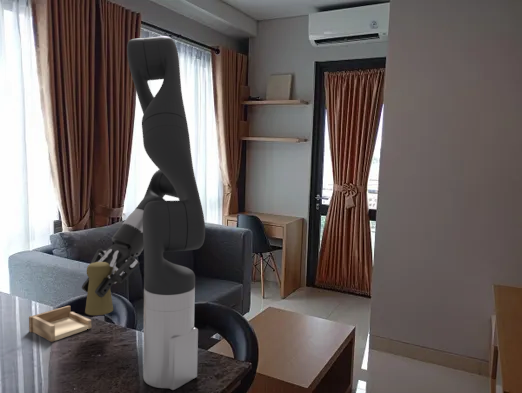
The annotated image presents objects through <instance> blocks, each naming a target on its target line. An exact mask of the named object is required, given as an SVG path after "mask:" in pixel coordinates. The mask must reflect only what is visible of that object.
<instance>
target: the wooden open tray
mask: <svg viewBox="0 0 522 393" xmlns="http://www.w3.org/2000/svg"><path fill="white" fill-rule="evenodd" d="M28 328H29V329H28V330H29V331H28V332H30V333H33V334H36V335H38V336H39V337H41V338H43V339H45V340H47V341H49V342H51V343H53V342H54V341H55V342H56V341H58V340H61V339H64V338H66V337H70V336H73V335H76V334H79V333H81V332H84V331H87V329H88V330H90V329H92V319H90V318H88V317H85V316H82V315H81V314H79V313H76V312H75V311H71V305H66V306H63V307H59V308H55V309H52V310H48V311H45V312H41V313H38V314H34V315H31V316H29V317H28Z"/></svg>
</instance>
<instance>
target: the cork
mask: <svg viewBox="0 0 522 393" xmlns="http://www.w3.org/2000/svg"><path fill="white" fill-rule="evenodd" d="M90 263H91V262H90ZM90 263H89V265H87V268H86V275H87V278H88V277H89V285H88V292H86V293H87V294H86V302H85V310H84V314H86V315H88V316H103V315H107V314H109V313H112V312H113V311H114V306H113V298H112V292H111V288H110V289H109V290H108V292H107V293H106V294H105V295H104V297H99V296H98V295H97V294H95V290H96V289H97V288H98V286H99V285H100V284H101V282H102V281H103V279H104V278H106V276H107V275H108V273H109V271H110V267H109V265H110V264H109V263H107V262H95V263H91V264H90ZM106 279H107V278H106Z"/></svg>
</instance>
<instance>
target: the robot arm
mask: <svg viewBox="0 0 522 393" xmlns="http://www.w3.org/2000/svg"><path fill="white" fill-rule="evenodd" d="M126 45H127V46H126V55H127V62H128V66H129V67H128V68H129V71H130V74H131V78H132V82H133V85H134V88H135V91H136V95H137V98H138V101H139V104H140V108H141V111H142V113H143V116H142V118H141V129H142V130H141V131H142V142H143V143H142V144H143V148H144V151H145V153H146V154H147V156H148V157H149V159H150V160H151V162H152V163H153V164H154V166H156V168H158V170H156V171H155V172H154V173H153V174H152V176H151V178H150V181H149V183H148V186H147V189H146V192H145V194H144V197H143V198H142V199H141V201H140V202H139V204H138V205H137V206H136V208H135V209H134V210H133V211H132V212H131V213H130V214H129V215H128V216H127V217H126V219H125V220H124V221H123V222H122V224H121V225H120V226H119V228H118V229H117V230H116V232H115V233H114V234H113V236H112V237H111V241H112V245H110V246H109V247H108V248H107V249H106V250H103V249H102V248H98V249H97V250H96V252H95V254H94V255H93V258H92V260H91V261H90V263H89V264H91V263H95V262H107V263H109V264H110V265H109V267H110V271H109V273H108V275H107V276H106V278H107V279H106V278H104V279H103V281H102V282H101V284H100V285H99V286H98V288H97V289H96V290H95V294H97V295H98V296H99V297H104V295H105V294H106V293H107V292H108V290H109V289H110V290H111V288H112V286H113V285H114V284H117V283H120V284H122V283H123V282H125V280H126V279H128V278H129V277H130V275H131V274H132V273H133V272H134V271H135V270H136V269H137V268H138V267H139V265H140V262H139V261H138V260H137V259H136V257H139V256H140V255H141V253H142V252H143V337H142V338H143V341H142V342H143V343H142V344H143V346H142V347H143V351H142V352H143V354H142V355H143V356H142V358H143V359H142V360H143V362H142V363H143V364H142V366H143V368H142V376H143V377H142V378H143V381H144V382H145V383H146V384H147V385H149V386H150V387H153V388H158V389H170V390H172V391H174V390H176V389H178V388H181V387H182V386H183V385H185V384H187V383H189V382H191V381H192V380H193V379H195V378H197V377H198V356H199V354H198V352H199V349H198V348H199V347H198V345H199V343H198V341H199V329H198V328H197V327H195V304H196V303H195V300H196V299H195V296H196V295H195V294H196V292H195V291H196V275H195V272H194V270H192V269H190V268H189V267H186V266H183V265H180V264H177V263H174V262H171V261H168V260H167V259H165V258H164V253H165V252H167V253H168V252H181V251H182V252H183V251H184V252H186V251H193V250H199V249H201V247H202V246H203V245H204V242H205V238H206V222H205V216H204V210H203V206H202V201H201V197H200V193H199V189H198V186H197V185H198V184H197V180H196V177H195V175H196V174H195V171H194V165H193V156H192V151H191V150H192V148H191V142H190V134H189V127H188V126H189V124H188V121H187V116H186V110H185V106H184V105H185V104H184V99H183V95H182V94H183V93H182V83H181V71H180V58H179V51H178V48H177V45H176V43H175V41H174V39H173V38H172V37H170V36H166V35H165V36H164V35H162V36H150V37H139V38H132V39H129V41H128V42H127V44H126ZM157 80H158V81H159V80H163V81H162V83H161V86H160V88H159V90H158V91H157V93H156V94H155V95H154V94H153V93H152V91H151V89H150V85H149V83H148V82H149V81H157ZM165 196H169V197H173V198H178V200H166V199H165V198H164V197H165ZM88 285H89V277H88V276H87V278H86V280H85V281H84V282H83V284H82V286H81V289H82V290H83V291H85V292H86V293H88Z"/></svg>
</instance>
